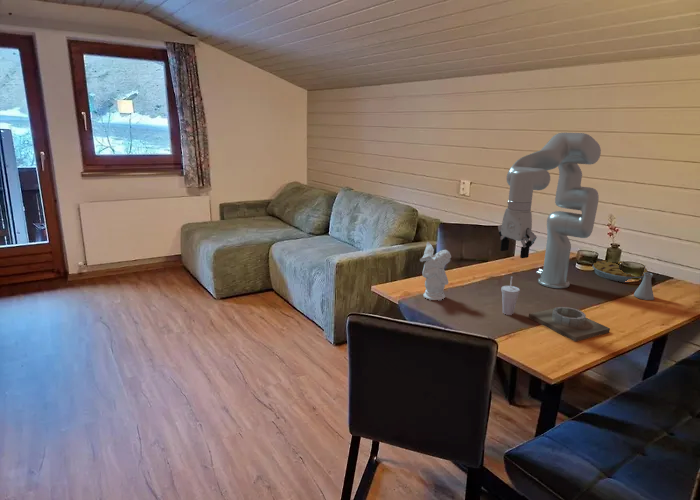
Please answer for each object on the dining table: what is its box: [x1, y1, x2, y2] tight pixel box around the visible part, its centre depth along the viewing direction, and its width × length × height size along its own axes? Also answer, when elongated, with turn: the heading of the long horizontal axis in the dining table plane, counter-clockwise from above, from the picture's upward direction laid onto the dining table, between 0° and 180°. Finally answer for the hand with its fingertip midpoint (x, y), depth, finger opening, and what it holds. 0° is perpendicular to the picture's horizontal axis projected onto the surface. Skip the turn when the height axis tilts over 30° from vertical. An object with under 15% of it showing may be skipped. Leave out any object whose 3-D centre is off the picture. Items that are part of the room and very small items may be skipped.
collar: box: [552, 306, 587, 327], centre depth 158 cm, size 10×10×3 cm
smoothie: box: [500, 276, 521, 316], centre depth 167 cm, size 6×6×14 cm
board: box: [528, 306, 611, 342], centre depth 159 cm, size 20×16×2 cm
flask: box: [633, 272, 655, 301], centre depth 182 cm, size 7×7×10 cm
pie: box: [592, 259, 649, 283], centre depth 208 cm, size 22×22×5 cm
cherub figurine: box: [419, 241, 452, 301], centre depth 180 cm, size 12×12×22 cm
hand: (513, 254), depth 162 cm, fingers open, 9 cm apart
